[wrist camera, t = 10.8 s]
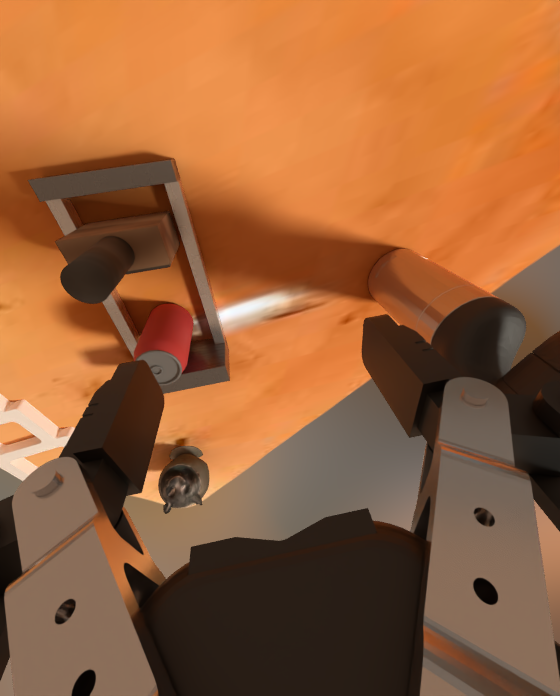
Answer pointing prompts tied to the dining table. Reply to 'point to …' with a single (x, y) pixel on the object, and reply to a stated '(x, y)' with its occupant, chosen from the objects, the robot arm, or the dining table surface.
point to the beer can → (166, 342)
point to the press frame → (205, 355)
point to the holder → (44, 440)
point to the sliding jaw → (115, 253)
